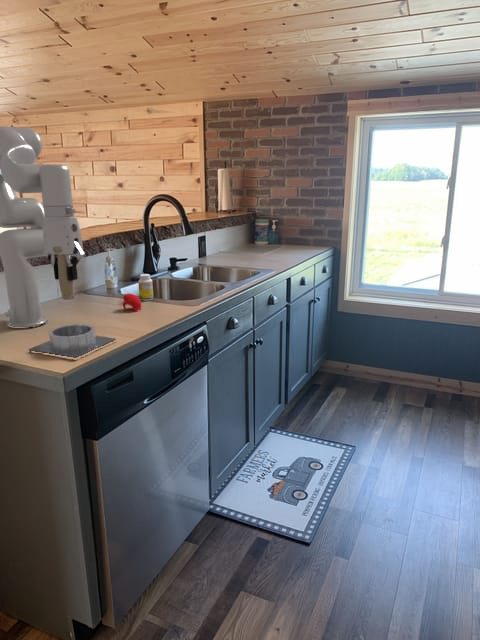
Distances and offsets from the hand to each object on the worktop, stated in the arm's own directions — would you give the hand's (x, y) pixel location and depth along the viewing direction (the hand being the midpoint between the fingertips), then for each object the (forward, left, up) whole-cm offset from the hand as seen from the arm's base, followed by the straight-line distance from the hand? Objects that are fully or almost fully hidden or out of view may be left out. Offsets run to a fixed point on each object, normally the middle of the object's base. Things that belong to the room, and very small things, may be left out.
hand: (66, 278), depth 133 cm
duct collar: (0, 0, -20) cm, 20 cm away
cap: (-9, +41, -21) cm, 47 cm away
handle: (0, 0, -6) cm, 6 cm away
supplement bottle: (-13, +56, -21) cm, 61 cm away
